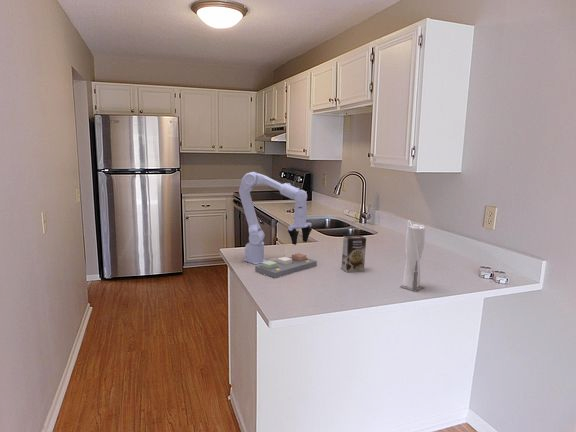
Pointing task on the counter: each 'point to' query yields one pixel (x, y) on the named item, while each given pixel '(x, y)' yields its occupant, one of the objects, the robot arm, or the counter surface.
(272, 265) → the sage key
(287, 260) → the cream key
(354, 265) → the coffee box
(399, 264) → the counter surface
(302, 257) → the terracotta key
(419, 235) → the skyscraper
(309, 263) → the keypad
